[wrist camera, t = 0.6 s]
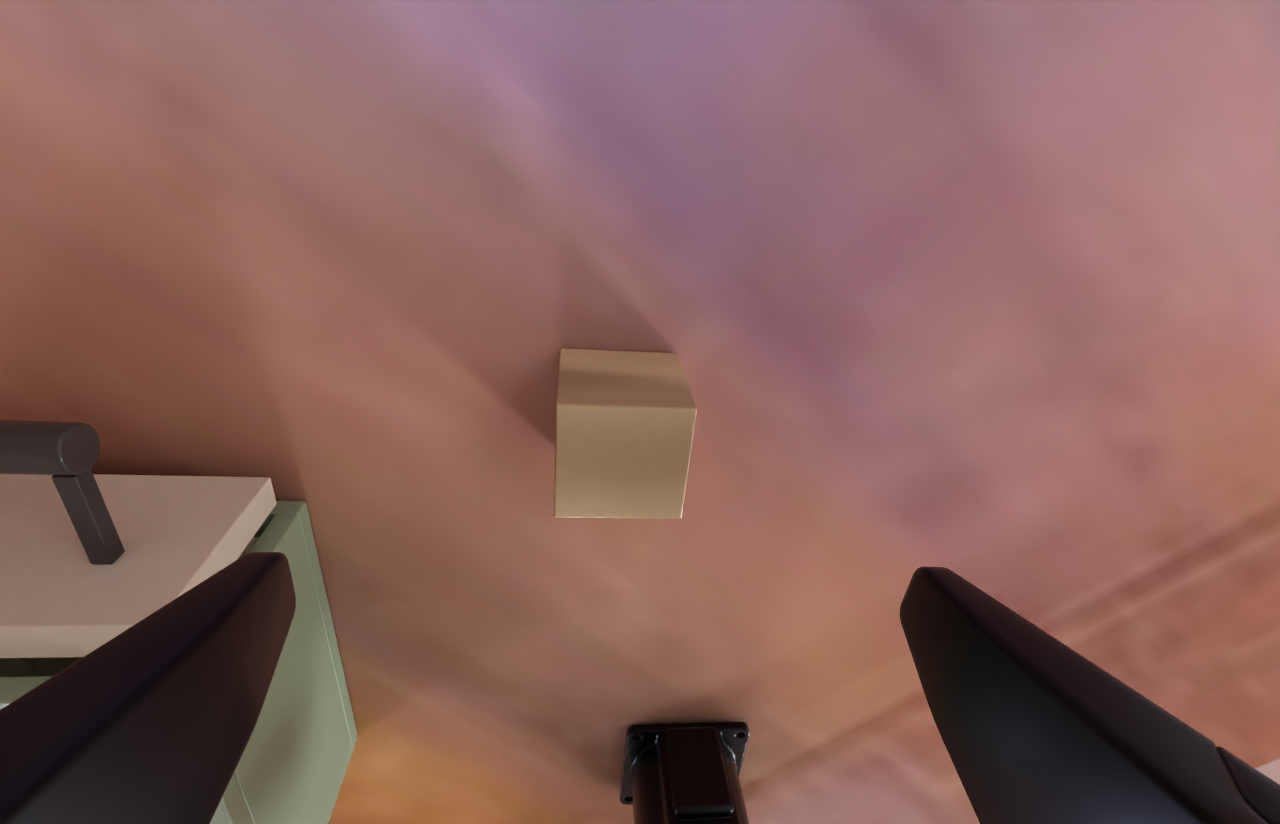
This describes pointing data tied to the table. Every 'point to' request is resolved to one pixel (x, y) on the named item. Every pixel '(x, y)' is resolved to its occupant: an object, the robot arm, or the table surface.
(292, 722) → the cabinet
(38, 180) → the table surface
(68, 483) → the drawer
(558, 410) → the block
